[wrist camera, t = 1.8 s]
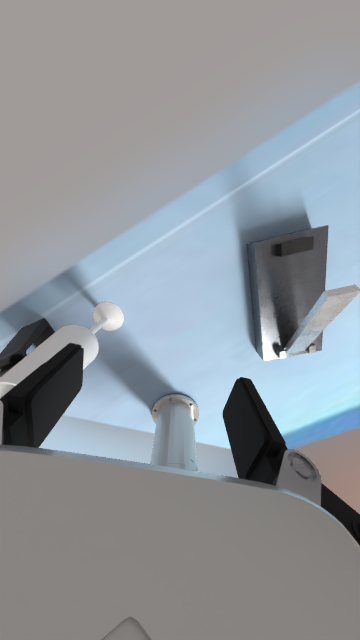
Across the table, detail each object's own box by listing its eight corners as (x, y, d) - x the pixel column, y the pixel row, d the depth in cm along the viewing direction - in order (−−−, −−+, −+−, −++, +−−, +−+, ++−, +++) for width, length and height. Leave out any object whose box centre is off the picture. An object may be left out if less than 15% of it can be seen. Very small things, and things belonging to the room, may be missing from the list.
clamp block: (308, 341, 41) (328, 354, 36) (256, 351, 42) (267, 366, 37) (311, 228, 33) (337, 223, 28) (246, 244, 34) (259, 242, 29)
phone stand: (22, 327, 40) (-38, 356, 29) (44, 317, 39) (-10, 343, 28) (47, 359, 43) (1, 396, 32) (68, 350, 42) (28, 386, 31)
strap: (301, 346, 37) (304, 350, 37) (283, 349, 37) (285, 354, 37) (355, 284, 22) (360, 290, 22) (323, 291, 23) (328, 297, 22)
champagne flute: (98, 296, 38) (-22, 361, 15) (128, 310, 39) (56, 390, 16) (88, 322, 40) (-30, 413, 17) (117, 335, 41) (40, 436, 18)
